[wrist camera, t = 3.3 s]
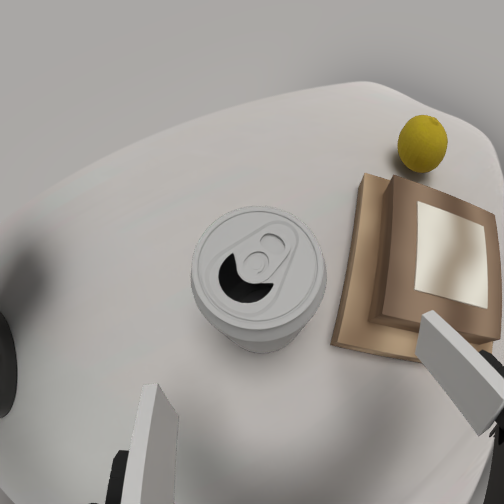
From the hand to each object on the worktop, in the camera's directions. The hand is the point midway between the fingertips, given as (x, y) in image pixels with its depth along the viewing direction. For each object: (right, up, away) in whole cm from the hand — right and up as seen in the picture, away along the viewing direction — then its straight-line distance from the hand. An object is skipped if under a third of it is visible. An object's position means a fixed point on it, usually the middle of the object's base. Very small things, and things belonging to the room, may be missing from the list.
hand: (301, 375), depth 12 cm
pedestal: (+14, +3, +11) cm, 18 cm away
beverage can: (-1, 0, +11) cm, 11 cm away
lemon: (+16, +16, +16) cm, 28 cm away
